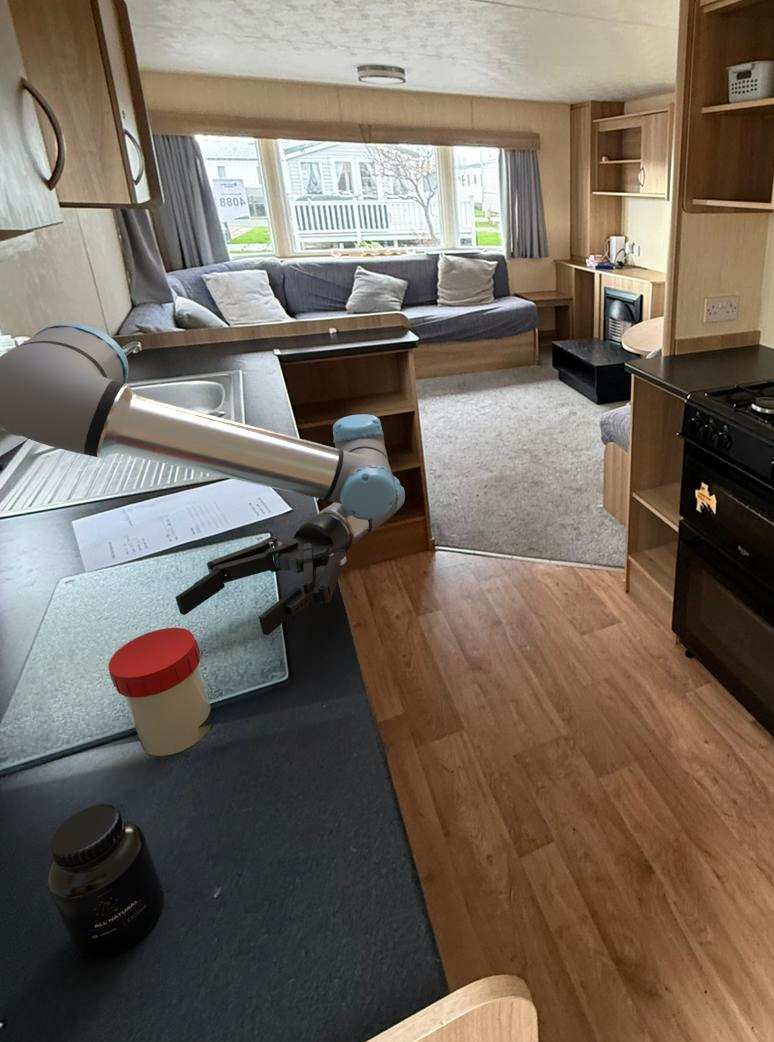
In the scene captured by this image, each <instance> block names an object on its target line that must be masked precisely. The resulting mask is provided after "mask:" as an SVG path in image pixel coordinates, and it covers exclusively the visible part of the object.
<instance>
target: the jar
mask: <svg viewBox="0 0 774 1042" xmlns="http://www.w3.org/2000/svg"><path fill="white" fill-rule="evenodd" d="M123 699H124V702H125V704H126V707H127V710H128V712H129V715H130V718H131V721H132V723H133V727H134V728H135V731H136V735H137V737H138V739H139V742H140V745H141V748H142V750H143V751H144V752H145V753H146V754H148V755H150V756H153V757H165V756H171V755H174V754H177V753H180V752H183V751H185V750H188V749H189V748H190V747H192V746H194V745H196V744H197V743H198V742H200V741H201V740H202V739H203V738H205V736H206V735H207V734H208V733H209V732H210V730H211V729H212V727H213V724H209V725H204V726H202V725H203V723H205V721H206V720H207V719H208V717H209V715H210V713H211V709H212V705H211V701H210V698H209V695H208V692H207V688H206V685H205V682H204V679H203V675H202V671H201V668H200V664H198V666H197V668H196V669H195V671H194V672H193V673H192V674H191V675H190V676H189V677H188V678H186V679H185V680H184V681H182V682H181V683H179V684H178V685H176V686H174V687H172V688H170V689H168V690H166V691H164V692H161V693H158V694H155V695H151V696H147V697H139V698H132V697H126V696H123Z"/></svg>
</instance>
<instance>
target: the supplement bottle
mask: <svg viewBox="0 0 774 1042" xmlns="http://www.w3.org/2000/svg"><path fill="white" fill-rule="evenodd" d="M49 848H50V849H49V851H50V853H51V855H52V860H53V862H52V864H51V866H50V869H49V871H48V875H47V880H46V881H47V888H48V891H49V894H50V896H51V899H52V901H53V903H54V905H55V907H56V910H57V912H58V915H59V916H60V919H61V921H62V923H63V925H64V927H65V930H66V932H67V934H68V937H69V938H70V941H71V944H72V945H73V947H74V949H75V950H76V952H77V953H78V954H79V956H82V957H83V958H86V959H89V960H101V959H102V960H103V959H106V958H110V957H113V956H116V955H118V954H120V953H122V952H124V951H126V950H127V949H129V948H130V947H132V946H133V945H135V944H136V943H137V942H139V941H140V940H141V939H142V938H143V937H145V935H146V934H147V933H148V932H149V931H150V930H151V929H152V927H153V926H154V924H155V923H156V922H157V920H158V918H159V916H160V914H161V912H162V910H163V908H164V902H165V893H164V889H163V885H162V883H161V879H160V877H159V874H158V871H157V867H156V865H155V863H154V860H153V857H152V853H151V851H150V848H149V845H148V843H147V840H146V837H145V834H144V833H143V830H142V829H141V828H140V827H139V825H137V824H136V823H133V822H131V821H126V820H124V818H123V817H122V815H121V813H120V810H119V809H118V807H117V806H114V805H113V804H110V803H99V804H95V805H90V806H88V807H85V808H83V809H81V810H79V811H77V812H76V813H74V814H72V815H71V816H69V817H68V818H67V819H65V820H64V821H63V822H62V823H60V825H59V826H58V827H57V828H56V830H55V831H54V833H52V836H51V839H50V843H49Z"/></svg>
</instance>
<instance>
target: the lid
mask: <svg viewBox="0 0 774 1042" xmlns="http://www.w3.org/2000/svg"><path fill="white" fill-rule="evenodd" d="M200 661H201V652H200V648H199V645H198V643H197V640H196V639H195V635H194V634H193V632H191V631H190V630H189V629H186V628H182V627H167V628H160V629H156V630H153V631H150V632H147V633H144V634H142V635H139V636H137V637H135V638H133V639H132V640H130V641H128V642H127V643H125V644H124V645H123V646H121V647H120V648H119V649H118V650H116V651H115V652H114V654H113V655H112V656H111V658H110V660H109V661H108V673H109V676H110V679H111V681H112V685H113V686H114V688H115V690H116V691H117V693H118V694H119V695H120V696H123V697H124V696H126V697H132V698H139V697H147V696H151V695H155V694H158V693H161V692H164V691H166V690H168V689H170V688H172V687H174V686H176V685H178V684H179V683H181V682H182V681H184V680H185V679H186V678H188V677H189V676H190V675H191V674H192V673H193V672H194V671H195V669H196V668H197V666H198V665H200Z"/></svg>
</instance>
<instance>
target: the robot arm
mask: <svg viewBox="0 0 774 1042" xmlns="http://www.w3.org/2000/svg"><path fill="white" fill-rule="evenodd" d="M129 368H130V367H129V362H128V358H127V355H126V354H125V352H124V350H123V349H122V348H121V345H119V343H118V342H116V340H115V339H114V338H112V337H111V336H110V335H108V334H106V332H104V331H102V330H100V329H98V328H95V327H92V326H90V325H85V324H79V323H61V324H57V325H50V326H47V327H44V328H43V329H40V330H39V331H38V332H36V333H35V334H34V335H33V336H32V337H31V338H29V339H27V340H25V341H24V342H22V343H20V344H19V345H17V346H15V347H14V348H11V349H10V350H8V351H7V352H4V353H3V354H2V355H0V457H1V456H4V454H6V453H8V452H10V451H11V450H13V449H14V448H16V447H17V446H19V445H21V444H22V443H24V442H26V441H28V440H30V441H34V442H36V443H38V444H42V445H45V446H48V447H52V448H55V449H60V450H64V451H68V452H70V453H71V452H72V453H75V454H78V455H79V454H80V455H84V456H89V457H94V458H98V459H103V458H107V456H110V455H113V454H120V455H125V456H128V457H133V458H138V459H142V460H146V461H151V462H156V463H160V464H164V465H169V466H173V467H178V468H183V469H187V470H191V471H196V472H200V473H204V474H209V475H214V476H218V477H223V478H225V479H226V478H227V479H231V480H234V481H235V480H236V481H239V482H240V481H241V482H244V483H248V484H253V485H258V486H263V487H267V488H271V489H276V490H281V491H284V492H289V493H293V494H298V495H302V496H306V497H312V498H315V499H319V500H325V501H329V502H333V503H331V504H330V505H328V506H326V507H324V508H323V509H321V510H320V511H319V512H318V513H317V514H315V515H313V516H312V517H311V518H309V519H307V520H306V521H305V522H303V523H302V524H300V526H299V527H298V528H297V530H296V532H295V534H294V536H293V537H292V538H290V539H289V540H286V541H284V542H282V541H278V537H277V536H276V535H271V536H269V537H267V538H266V539H264V540H262V541H261V542H257V543H256V544H253V545H250V546H246V547H244V548H242V549H238V550H236V551H234V552H231V553H228V554H225V555H223V556H220V557H217V558H215V559H212V560H209V561H208V562H207V563H206V566H207V571H208V574H206V575H205V576H203V577H202V578H200V579H199V580H197V581H195V582H194V583H193V584H192V585H191V586H190V587H188V588H187V589H186V590H184V591H182V592H181V593H179V594H177V595H176V596H175V601H176V604H177V607H178V612H179V614H180V615H182V616H186V615H187V614H189V613H190V612H191V611H193V610H194V609H196V608H197V607H199V606H200V605H202V604H203V603H204V602H206V601H207V600H209V599H210V598H212V597H214V596H215V595H216V594H217V593H219V592H220V591H221V590H223V589H225V588H226V585H225V584H226V583H227V584H228V583H230V582H233V581H237V580H241V579H244V578H248V577H251V576H255V575H258V574H261V573H265V572H271V573H276V572H279V571H291V572H292V573H297V574H299V573H302V574H303V575H302V582H301V585H302V587H298V586H295V587H294V588H293V589H292V590H290V591H289V592H287V594H285V595H284V596H283V597H281V598H280V599H279V600H277V601H276V602H275V603H274V604H272V605H271V606H270V607H269V608H268V609H266V610H265V611H264V612H263V613H261V614H260V615H259V616H258V620H259V624H260V628H261V632H262V635H263V636H264V635H265V636H269V635H270V634H272V633H273V632H274V631H275V630H276V629H277V628H278V627H280V626H281V625H282V624H283V623H285V622H286V621H287V620H288V619H289V618H290V617H294V616H296V615H298V614H299V613H300V612H301V611H302V610H304V609H305V608H306V607H307V606H308V605H313V604H315V603H317V602H320V603H321V605H326V604H329V603H330V601H331V599H332V596H333V594H334V592H335V590H336V589H335V588H336V587H337V584H338V581H339V579H340V575H341V573H342V572H343V571H344V570H345V569H346V568H347V567H348V565H349V563H348V557H347V552H348V551H349V550H351V549H352V548H353V547H354V546H356V545H357V544H358V543H360V542H361V541H362V540H363V539H365V538H366V537H367V536H368V535H370V534H371V533H372V532H373V531H375V530H376V529H378V528H379V527H380V526H382V525H383V524H384V523H385V522H387V521H388V520H390V519H391V518H392V517H393V516H394V515H395V513H397V512H398V511H399V510H400V509H401V508H402V506H403V505H404V503H405V499H406V492H405V488H404V487H403V486H402V484H401V482H400V479H398V478H397V477H396V476H394V474H393V472H392V468H391V466H390V465H391V464H390V461H389V457H388V453H387V449H386V446H385V445H386V444H385V438H384V435H385V434H384V431H383V429H382V422H381V420H380V419H379V417H377V416H376V415H373V414H367V413H362V414H352V415H347V416H343V417H342V418H339V419H338V420H337V421H336V422H334V424H333V425H332V434H333V444H334V447H332V446H329V445H325V444H322V443H318V442H314V441H311V440H307V439H302V438H299V437H295V436H292V435H288V434H285V433H280V432H276V431H274V430H273V431H272V430H269V429H266V428H262V427H258V426H254V425H250V424H247V423H243V422H239V421H235V420H233V419H232V420H231V419H228V418H223V417H221V416H216V415H212V414H209V413H205V412H201V411H198V410H194V409H190V408H187V407H183V406H179V405H175V404H172V403H169V402H163V401H161V400H157V399H152V398H149V397H145V396H141V395H137V394H136V393H135V391H133V389H132V387H131V385H130V384H127V380H128V378H129V372H130V371H129ZM276 556H277V557H276ZM275 557H276V559H277V563H275V559H274V558H275ZM320 567H325V568H324V571H323V572H322V576H321V578H320V581H319V582H318V585H317V568H320ZM302 589H303V590H302Z"/></svg>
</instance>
